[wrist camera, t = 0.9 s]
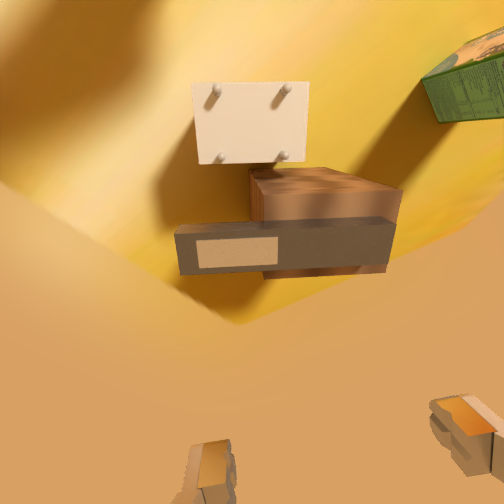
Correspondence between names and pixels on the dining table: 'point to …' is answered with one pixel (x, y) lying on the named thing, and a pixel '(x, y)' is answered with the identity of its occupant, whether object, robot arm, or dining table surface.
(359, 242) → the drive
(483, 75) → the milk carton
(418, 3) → the dining table surface
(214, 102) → the dock
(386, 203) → the stand
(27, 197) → the dining table surface
